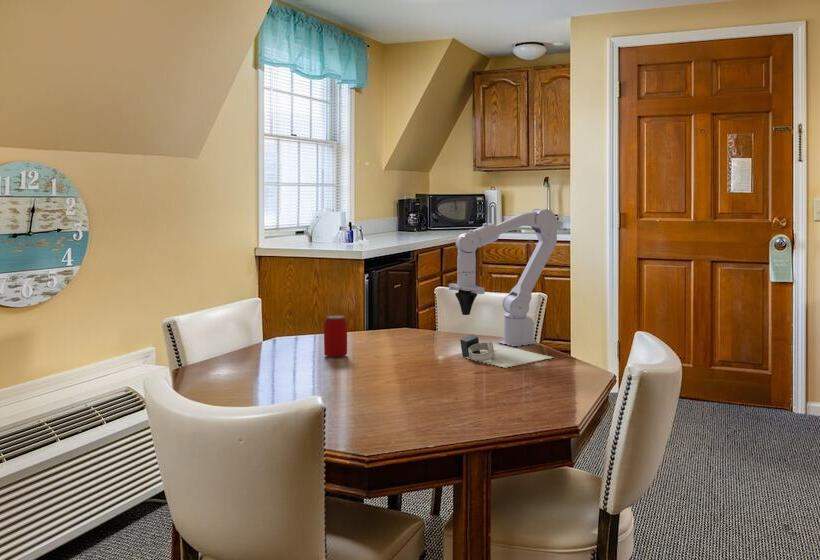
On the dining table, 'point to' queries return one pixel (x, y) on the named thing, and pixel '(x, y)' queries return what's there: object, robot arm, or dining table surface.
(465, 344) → the watch
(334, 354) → the beverage can
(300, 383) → the dining table surface
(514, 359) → the mat
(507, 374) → the dining table surface
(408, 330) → the dining table surface
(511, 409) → the dining table surface
